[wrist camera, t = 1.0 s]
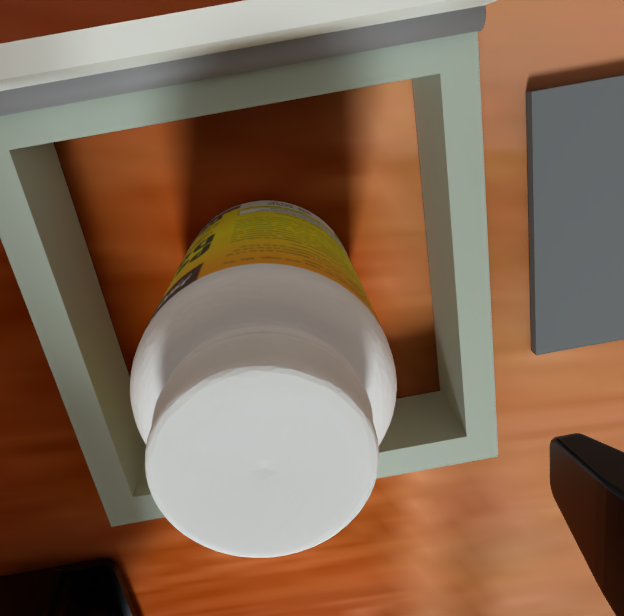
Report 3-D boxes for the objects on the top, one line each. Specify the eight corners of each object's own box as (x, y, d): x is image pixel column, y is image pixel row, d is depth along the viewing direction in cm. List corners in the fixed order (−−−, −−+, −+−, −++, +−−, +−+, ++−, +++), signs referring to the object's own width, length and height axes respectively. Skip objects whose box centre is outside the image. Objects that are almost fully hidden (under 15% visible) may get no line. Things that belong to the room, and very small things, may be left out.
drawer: (467, 408, 21) (539, 521, 15) (132, 469, 21) (82, 604, 15) (439, 1, 16) (530, -51, 10) (-4, 79, 16) (-152, 70, 10)
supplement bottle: (208, 173, 17) (132, 268, 8) (372, 226, 18) (484, 367, 9) (166, 329, 19) (64, 563, 10) (318, 370, 20) (362, 618, 11)
